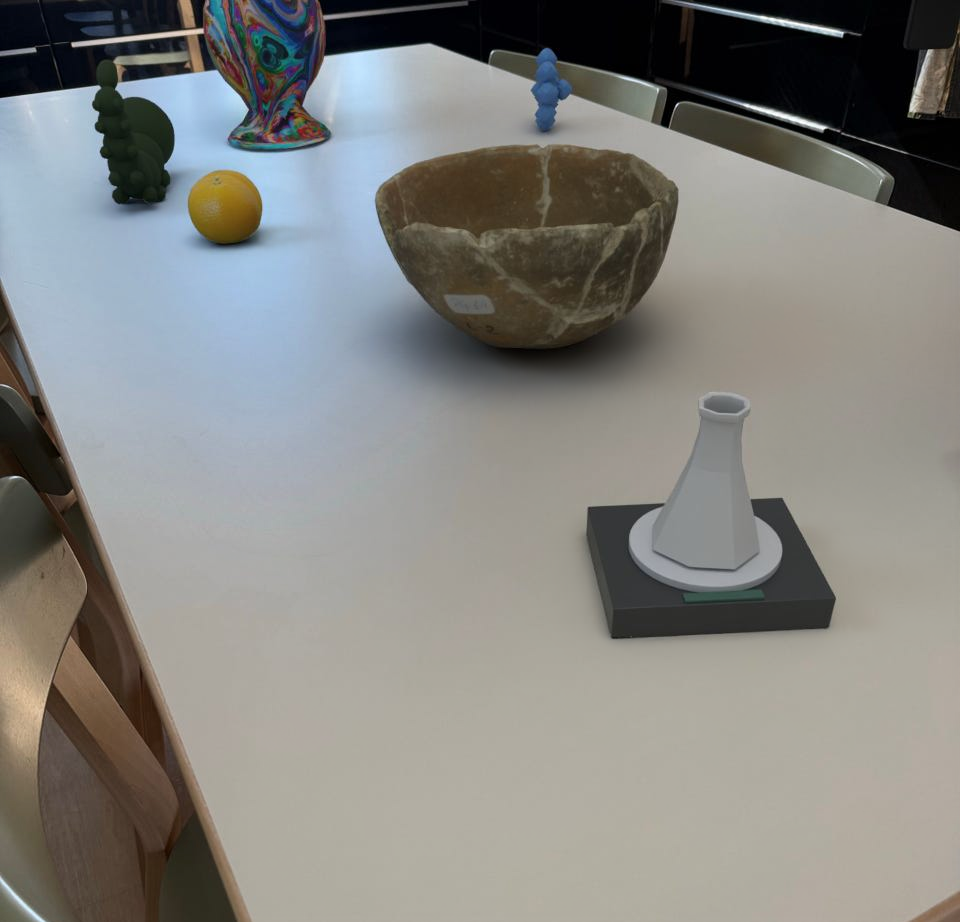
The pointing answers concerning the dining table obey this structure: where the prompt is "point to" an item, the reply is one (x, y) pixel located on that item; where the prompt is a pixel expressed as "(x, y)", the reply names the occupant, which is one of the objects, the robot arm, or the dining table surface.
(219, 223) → the fruit
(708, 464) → the flask
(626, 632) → the scale
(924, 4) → the robot arm
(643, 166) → the bowl
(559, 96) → the grapes
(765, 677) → the dining table surface
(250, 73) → the vase
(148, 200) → the toy figurine
